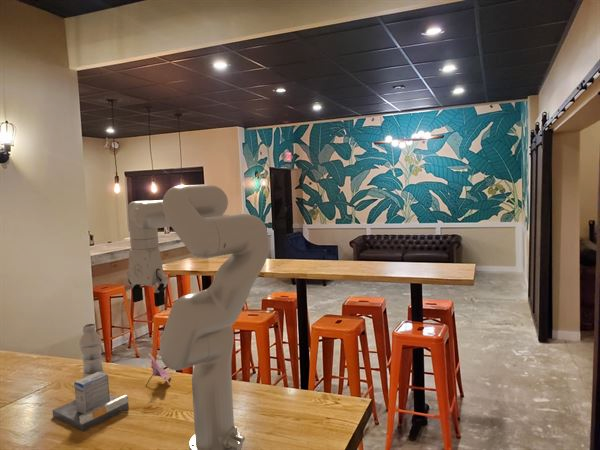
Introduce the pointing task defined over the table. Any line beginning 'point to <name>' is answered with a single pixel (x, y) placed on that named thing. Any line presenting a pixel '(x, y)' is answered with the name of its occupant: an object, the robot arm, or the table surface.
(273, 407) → the table surface
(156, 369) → the lily
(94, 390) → the medicine box
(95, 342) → the plastic bottle
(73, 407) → the white-edged grey panel
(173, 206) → the robot arm
